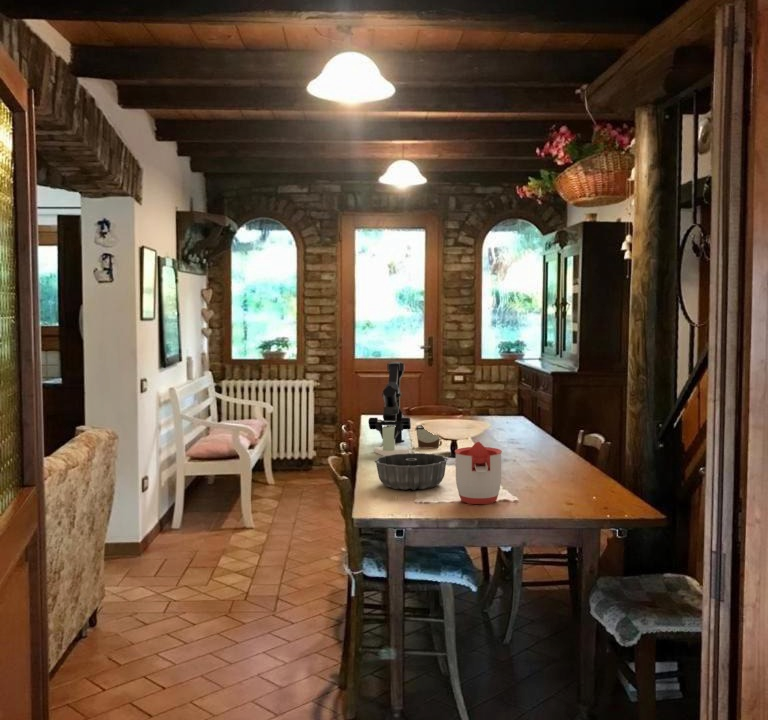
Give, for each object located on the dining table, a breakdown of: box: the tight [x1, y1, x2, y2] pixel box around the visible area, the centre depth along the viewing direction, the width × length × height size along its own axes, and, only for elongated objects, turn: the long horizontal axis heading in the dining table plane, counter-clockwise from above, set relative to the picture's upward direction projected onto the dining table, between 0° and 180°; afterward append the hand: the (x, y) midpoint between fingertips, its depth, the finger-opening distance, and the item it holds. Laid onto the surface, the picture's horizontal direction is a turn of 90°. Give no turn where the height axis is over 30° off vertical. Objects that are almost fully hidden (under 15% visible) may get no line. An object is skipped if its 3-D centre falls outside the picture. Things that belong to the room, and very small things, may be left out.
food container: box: [414, 424, 441, 447], centre depth 366 cm, size 12×6×10 cm, turn 84°
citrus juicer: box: [454, 441, 502, 505], centre depth 259 cm, size 16×17×20 cm
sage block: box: [382, 425, 396, 451], centre depth 348 cm, size 5×5×10 cm
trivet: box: [373, 444, 410, 457], centre depth 351 cm, size 12×12×2 cm
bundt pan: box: [374, 452, 448, 491], centre depth 285 cm, size 26×26×10 cm
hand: (388, 438), depth 347 cm, fingers closed on sage block, 5 cm apart
